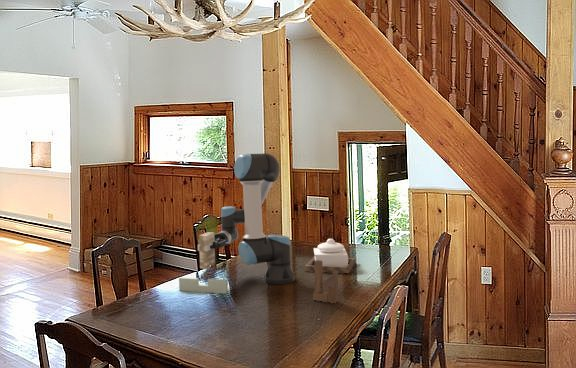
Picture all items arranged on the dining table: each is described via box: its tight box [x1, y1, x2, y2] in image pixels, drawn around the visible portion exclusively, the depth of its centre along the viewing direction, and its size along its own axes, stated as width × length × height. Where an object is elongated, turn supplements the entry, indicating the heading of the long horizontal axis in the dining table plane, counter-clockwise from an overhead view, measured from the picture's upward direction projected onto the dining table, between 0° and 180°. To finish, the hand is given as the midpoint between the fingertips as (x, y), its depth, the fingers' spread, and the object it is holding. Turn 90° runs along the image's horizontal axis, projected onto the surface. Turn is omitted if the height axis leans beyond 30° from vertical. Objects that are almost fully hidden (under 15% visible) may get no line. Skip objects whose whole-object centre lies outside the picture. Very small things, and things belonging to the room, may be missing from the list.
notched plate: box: [198, 231, 216, 270], centre depth 287 cm, size 4×10×16 cm, turn 163°
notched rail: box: [178, 276, 229, 294], centre depth 279 cm, size 24×2×6 cm, turn 75°
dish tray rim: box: [304, 255, 357, 274], centre depth 324 cm, size 24×24×3 cm
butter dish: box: [313, 238, 349, 267], centre depth 323 cm, size 18×18×16 cm
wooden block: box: [312, 260, 339, 304], centre depth 260 cm, size 4×11×18 cm, turn 61°
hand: (202, 248), depth 281 cm, fingers closed on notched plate, 3 cm apart
